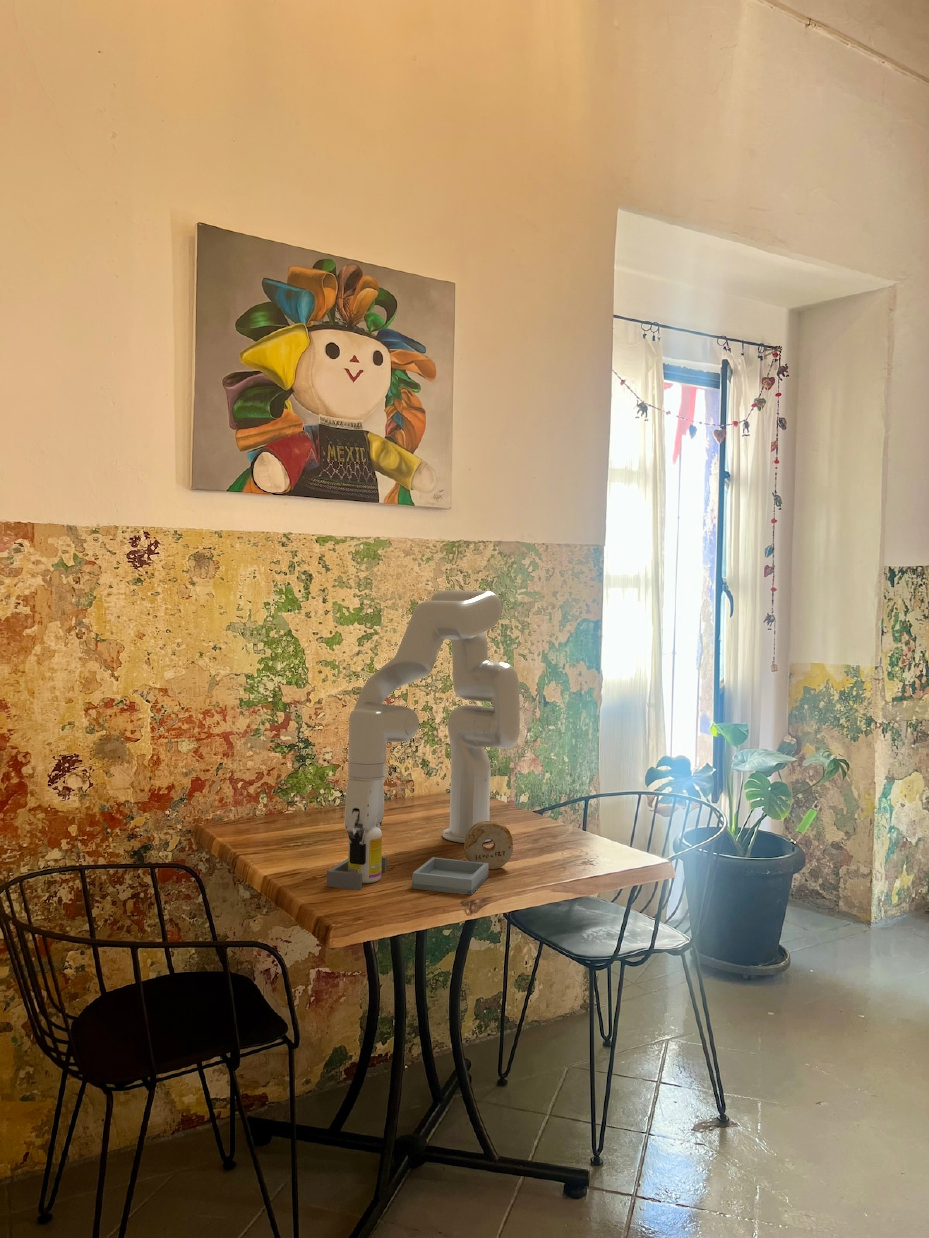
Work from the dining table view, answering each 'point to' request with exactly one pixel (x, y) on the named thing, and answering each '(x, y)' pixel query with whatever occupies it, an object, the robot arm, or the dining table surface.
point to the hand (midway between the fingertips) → (365, 858)
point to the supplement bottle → (370, 856)
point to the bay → (348, 876)
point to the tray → (450, 875)
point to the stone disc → (495, 854)
